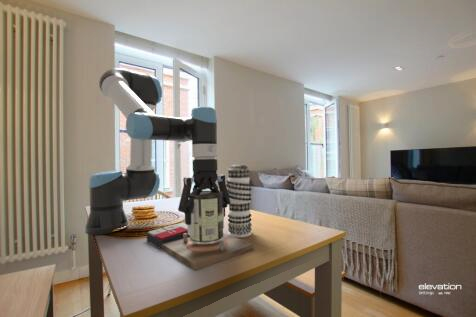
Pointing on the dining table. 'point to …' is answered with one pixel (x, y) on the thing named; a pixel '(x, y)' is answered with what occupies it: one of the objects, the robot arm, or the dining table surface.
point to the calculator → (167, 234)
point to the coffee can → (207, 217)
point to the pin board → (206, 250)
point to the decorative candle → (239, 201)
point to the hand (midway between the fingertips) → (206, 231)
